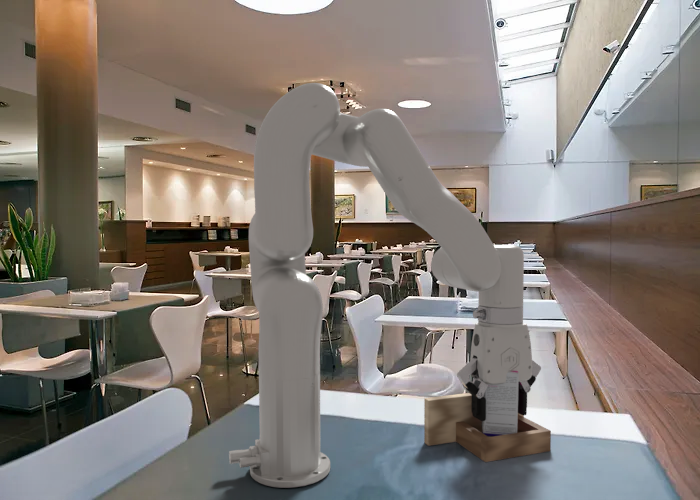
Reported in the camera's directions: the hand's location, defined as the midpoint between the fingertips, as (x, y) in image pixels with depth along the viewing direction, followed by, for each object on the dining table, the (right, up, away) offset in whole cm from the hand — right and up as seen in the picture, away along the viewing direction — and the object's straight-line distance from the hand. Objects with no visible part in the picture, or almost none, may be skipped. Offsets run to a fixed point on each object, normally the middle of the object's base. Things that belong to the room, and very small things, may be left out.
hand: (499, 415), depth 96 cm
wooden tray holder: (-2, -5, 0) cm, 6 cm away
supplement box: (0, -3, 0) cm, 3 cm away
